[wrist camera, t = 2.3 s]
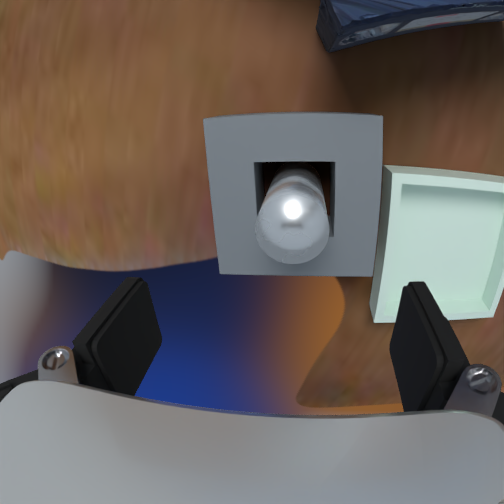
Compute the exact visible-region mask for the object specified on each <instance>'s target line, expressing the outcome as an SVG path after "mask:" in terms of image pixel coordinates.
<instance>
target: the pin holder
mask: <svg viewBox="0 0 504 504" xmlns="http://www.w3.org/2000/svg"><path fill="white" fill-rule="evenodd" d="M203 123H204V134H205V145H206V155H207V165H208V175H209V184H210V194H211V203H212V212H213V221H214V229H215V238H216V246H217V254H218V262H219V270H220V274H242V275H289V276H373V269H374V261H375V252H376V243H377V233H378V223H379V211H380V197H381V180H382V154H383V116H380V115H375V114H370V113H349V112H272V113H251V114H236V115H223V116H216V117H211V118H206V119H203ZM284 161H326V162H330V216H328V222H329V238H328V241H327V244H326V246H325V247H324V249H323V250H322V252H321V253H320V254H319V255H317V256H316V257H315V258H313V259H312V260H310V261H307V262H304V263H300V264H286V263H282V262H279V261H276V260H274V259H273V258H271V257H270V256H268V255H267V254H266V253H265V252H264V251H263V250H262V248H261V247H260V245H259V244H258V241H257V239H256V235H255V223H256V219H257V216H258V214H259V211H260V209H261V207H262V204H263V202H264V199H265V197H264V179H263V162H284Z"/></svg>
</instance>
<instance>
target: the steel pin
mask: <svg viewBox="0 0 504 504" xmlns="http://www.w3.org/2000/svg"><path fill="white" fill-rule="evenodd" d="M255 235H256V239H257V241H258V244H259V245H260V247H261V248H262V250H263V251H264V252H265V253H266V254H267V255H268V256H270V257H271V258H273V259H274V260H276V261H279V262H282V263H286V264H300V263H304V262H307V261H310V260H312V259H313V258H315V257H316V256H317V255H319V254H320V253H321V252H322V250H323V249H324V247H325V246H326V244H327V241H328V238H329V222H328V216H327V211H326V205H325V200H324V194H323V189H322V184H321V179H320V176H319V174H318V172H317V170H316V169H315V168H314V167H313V166H312V165H310V164H308V163H306V162H303V161H289V162H287V163H285V164H283V165H282V166H280V167H279V168H278V170H277V171H276V173H275V175H274V177H273V180H272V182H271V185H270V187H269V189H268V192H267V194H266V197H265V199H264V202H263V204H262V207H261V209H260V211H259V214H258V216H257V219H256V223H255Z"/></svg>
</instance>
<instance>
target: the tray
mask: <svg viewBox="0 0 504 504" xmlns="http://www.w3.org/2000/svg"><path fill="white" fill-rule="evenodd" d="M413 281H424V282H425V283H426V285H427V286H428V288H429V290H430V292H431V293H432V295H433V297H434V299H435V301H436V302H437V304H438V306H439V308H440V310H441V312H442V313H443V315H444V317H446V318H447V320H458V319H473V318H486V317H493V316H494V313H495V310H496V308H497V305H498V302H499V299H500V296H501V294H502V291H503V288H504V177H503V176H496V175H488V174H481V173H473V172H464V171H455V170H445V169H434V168H423V167H409V166H394V165H383V181H382V198H381V211H380V223H379V233H378V243H377V252H376V260H375V268H374V276H373V283H372V290H371V296H370V302H369V305H370V309H371V313H372V317H373V321H374V323H386V322H395V321H396V317H397V313H398V308H399V303H400V299H401V294H402V289H403V286H407V285H408V283H409V282H413Z"/></svg>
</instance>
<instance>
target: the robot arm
mask: <svg viewBox="0 0 504 504" xmlns="http://www.w3.org/2000/svg"><path fill="white" fill-rule="evenodd" d="M161 343H162V336H161V332H160V329H159V325H158V322H157V319H156V314H155V311H154V307H153V303H152V299H151V295H150V292H149V288H148V284H147V283H146V282H144V281H143V279H142V278H136V277H127V278H126V279H125V280H124V281H123V282H122V284H121V285H120V286H119V287H118V288H117V289H116V290H115V291H114V293H113V294H112V295H111V296H110V297H109V298H108V300H107V301H106V302H105V303H104V304H103V305H102V307H101V308H100V309H99V310H98V311H97V312H96V314H95V315H94V316H93V317H92V318H91V320H90V321H89V322H88V323H87V324H86V326H85V327H84V328H83V329H82V330H81V332H80V333H79V334H78V335H77V337H76V338H75V339H74V340H73V344H74V348H73V349H72V350H71V349H70V348H69V347H66V346H57V347H53V348H51V349H49V350H47V351H46V352H45V353H44V354H43V355H42V356H41V357H40V359H39V362H38V370H35V371H32V372H30V373H27V374H24V375H22V376H19V377H17V378H14V379H11V380H8V381H6V382H3V383H1V384H0V504H504V393H503V392H501V385H502V383H501V379H500V377H499V375H498V374H497V373H496V372H495V371H494V370H493V369H492V368H490V367H488V366H486V365H483V364H473V365H470V364H469V361H468V359H467V357H466V355H465V353H464V351H463V349H462V347H461V345H460V343H459V341H458V339H457V337H456V335H455V333H454V331H453V329H452V327H451V325H450V323H449V321H448V320H447V318H446V317H444V315H443V313H442V312H441V310H440V308H439V306H438V304H437V302H436V301H435V299H434V297H433V295H432V293H431V292H430V290H429V288H428V286H427V285H426V283H425V282H424V281H413V282H409V283H408V285H407V286H403V289H402V294H401V299H400V303H399V308H398V313H397V317H396V321H395V326H394V330H393V334H392V338H391V342H390V355H391V359H392V363H393V367H394V371H395V375H396V379H397V383H398V387H399V391H400V396H401V400H402V405H403V409H404V412H397V413H381V414H358V415H287V414H265V413H252V412H239V411H229V410H220V409H211V408H203V407H195V406H188V405H180V404H175V403H169V402H163V401H157V400H151V399H146V398H141V397H136V396H134V395H135V393H136V391H137V389H138V388H139V386H140V384H141V382H142V380H143V378H144V376H145V374H146V372H147V370H148V368H149V367H150V365H151V363H152V361H153V359H154V357H155V355H156V353H157V351H158V350H159V348H160V346H161Z"/></svg>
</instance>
